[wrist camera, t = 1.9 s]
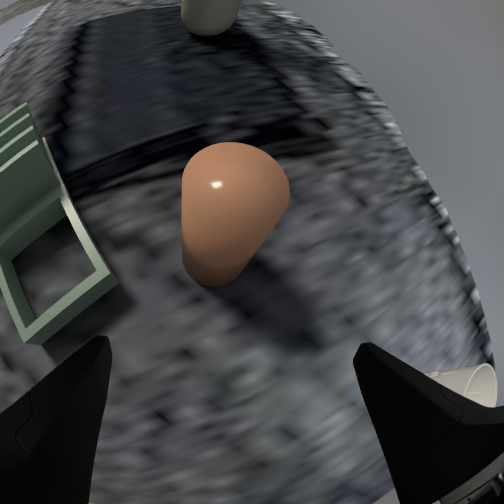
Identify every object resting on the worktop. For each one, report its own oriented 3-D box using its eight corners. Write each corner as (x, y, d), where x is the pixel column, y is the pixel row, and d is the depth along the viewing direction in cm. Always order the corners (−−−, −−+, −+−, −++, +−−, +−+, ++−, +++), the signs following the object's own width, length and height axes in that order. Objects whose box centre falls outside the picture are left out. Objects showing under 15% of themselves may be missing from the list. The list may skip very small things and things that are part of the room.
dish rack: (41, 345, 17) (-9, 338, 10) (-12, 191, 19) (-41, 155, 12) (119, 282, 21) (91, 251, 14) (48, 145, 23) (28, 99, 16)
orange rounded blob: (209, 300, 22) (230, 255, 12) (169, 249, 23) (161, 171, 13) (258, 261, 24) (310, 196, 14) (219, 215, 25) (243, 130, 15)
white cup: (403, 447, 20) (471, 461, 11) (369, 414, 21) (446, 428, 12) (437, 392, 24) (503, 390, 14) (408, 355, 24) (482, 345, 15)
